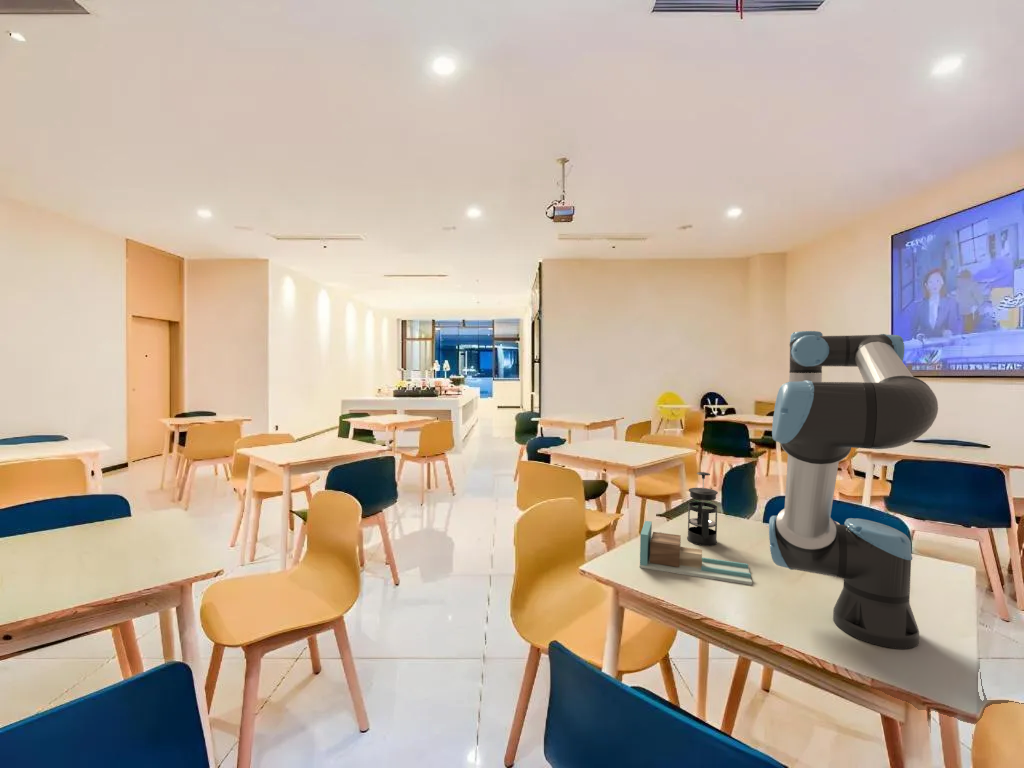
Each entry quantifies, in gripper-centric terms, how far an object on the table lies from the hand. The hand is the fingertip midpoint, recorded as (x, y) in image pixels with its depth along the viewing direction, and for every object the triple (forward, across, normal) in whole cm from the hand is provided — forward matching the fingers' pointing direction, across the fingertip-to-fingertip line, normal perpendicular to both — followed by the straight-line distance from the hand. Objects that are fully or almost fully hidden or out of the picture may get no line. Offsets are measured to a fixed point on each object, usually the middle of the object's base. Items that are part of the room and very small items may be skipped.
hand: (802, 476), depth 128 cm
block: (+28, +35, -2) cm, 44 cm away
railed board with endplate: (+29, +27, -1) cm, 39 cm away
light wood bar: (+28, +31, -1) cm, 42 cm away
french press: (+29, +23, -25) cm, 44 cm away
